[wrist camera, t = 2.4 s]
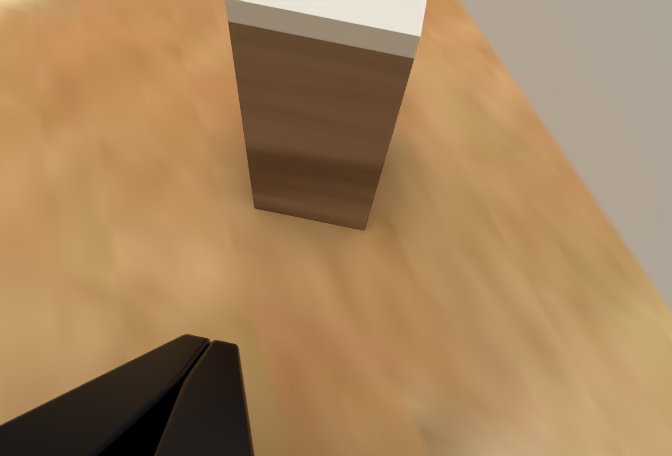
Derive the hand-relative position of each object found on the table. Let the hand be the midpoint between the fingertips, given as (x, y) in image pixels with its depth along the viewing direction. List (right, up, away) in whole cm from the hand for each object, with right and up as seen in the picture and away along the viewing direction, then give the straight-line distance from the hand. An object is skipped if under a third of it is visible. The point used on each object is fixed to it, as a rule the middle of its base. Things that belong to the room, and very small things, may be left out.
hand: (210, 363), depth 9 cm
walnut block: (+1, +5, +17) cm, 18 cm away
